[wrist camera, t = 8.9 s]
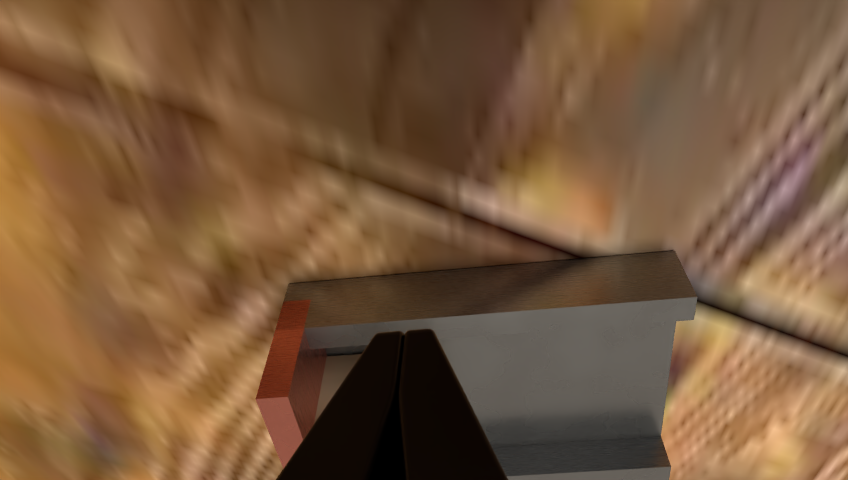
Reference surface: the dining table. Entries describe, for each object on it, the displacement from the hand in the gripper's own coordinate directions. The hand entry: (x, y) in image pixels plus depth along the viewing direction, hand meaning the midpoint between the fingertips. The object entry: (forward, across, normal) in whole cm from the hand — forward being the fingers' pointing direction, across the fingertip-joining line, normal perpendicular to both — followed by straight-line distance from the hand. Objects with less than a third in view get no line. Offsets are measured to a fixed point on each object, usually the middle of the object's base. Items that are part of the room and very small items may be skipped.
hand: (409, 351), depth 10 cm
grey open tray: (+12, -1, +13) cm, 18 cm away
